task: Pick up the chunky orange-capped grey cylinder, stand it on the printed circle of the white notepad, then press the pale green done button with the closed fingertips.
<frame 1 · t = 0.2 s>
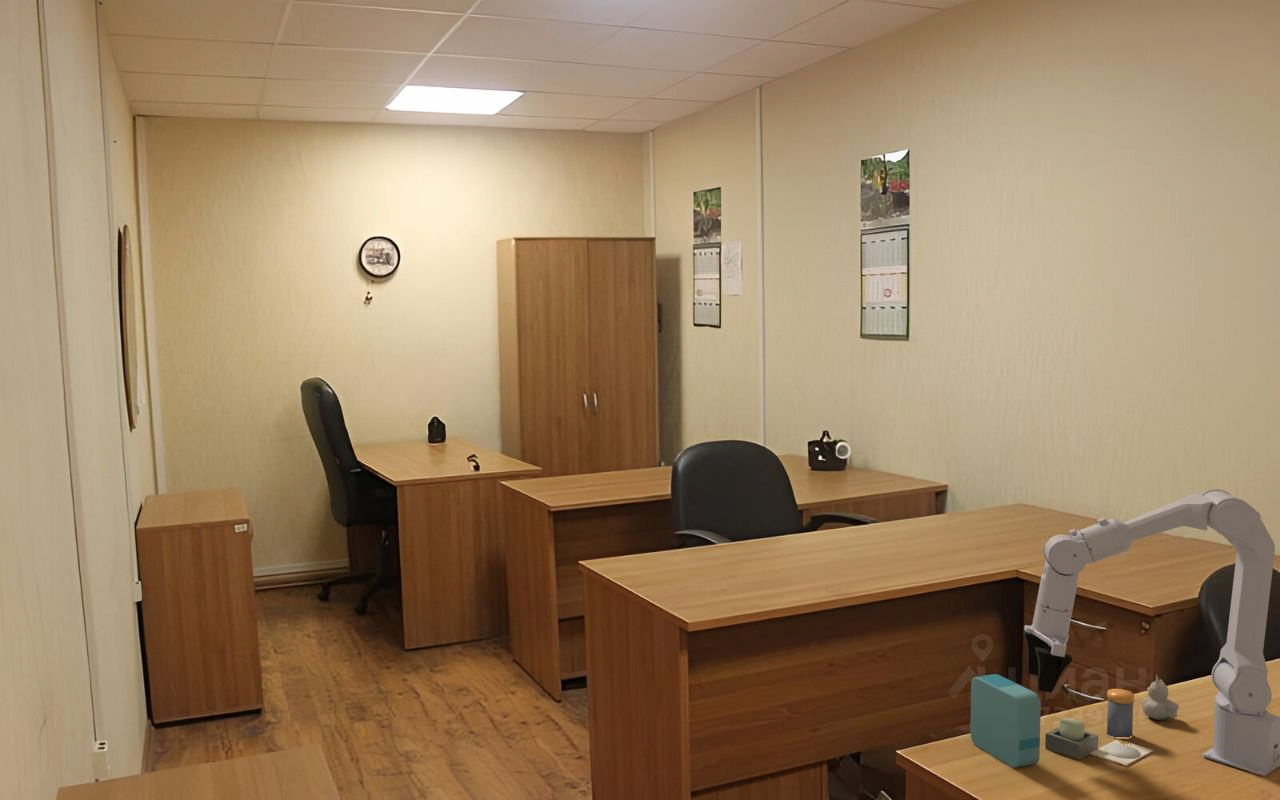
hand: (1039, 682, 174), 11 cm above the table, tool pointing down, fingers open, 7 cm apart
data package: (1003, 755, 170), on the table
orange-capped grey cylinder: (1119, 735, 177), on the table
done button: (1072, 731, 172), point 3 cm above the table, slide at 0.0 cm
button housing: (1071, 749, 172), on the table
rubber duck: (1160, 720, 184), on the table
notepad: (1121, 753, 170), on the table
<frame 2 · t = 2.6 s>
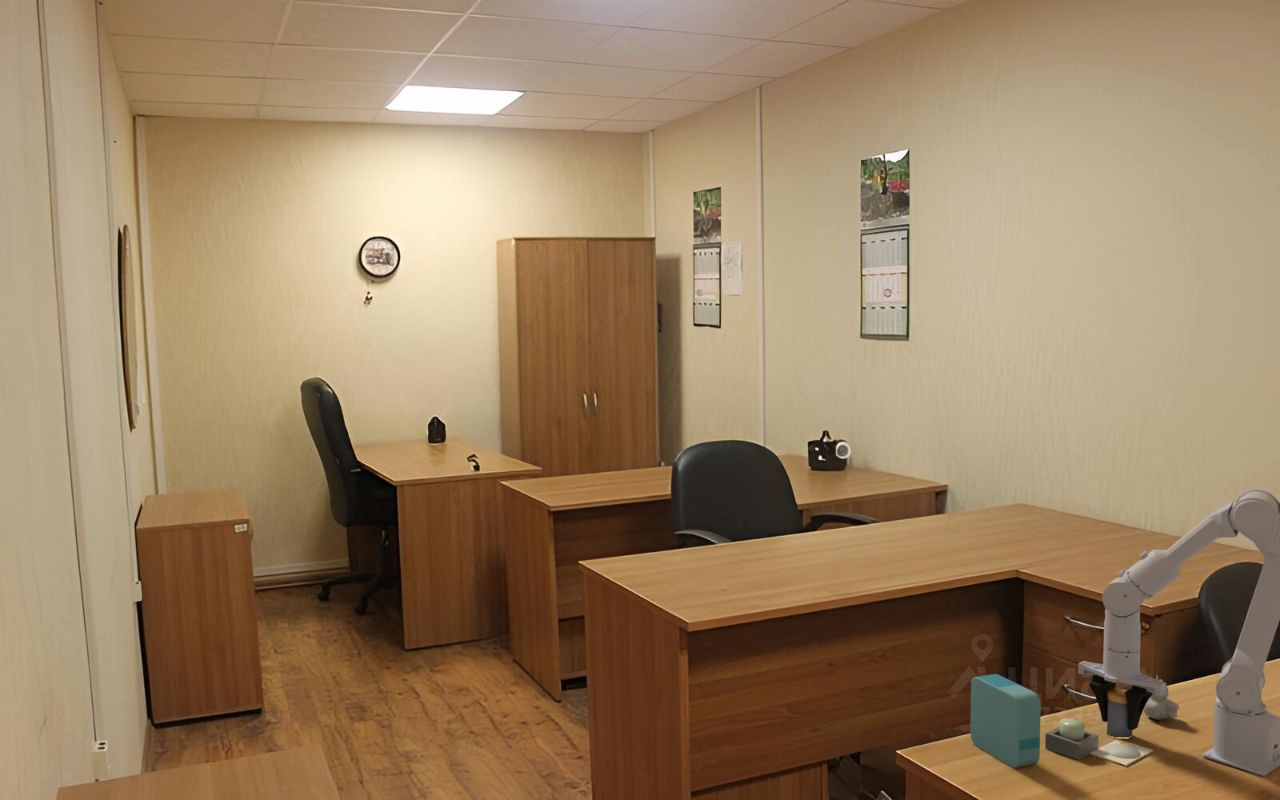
hand: (1119, 724, 177), 2 cm above the table, tool pointing down, fingers closed on orange-capped grey cylinder, 4 cm apart
orange-capped grey cylinder: (1119, 735, 177), on the table, touching gripper
everything else where it was.
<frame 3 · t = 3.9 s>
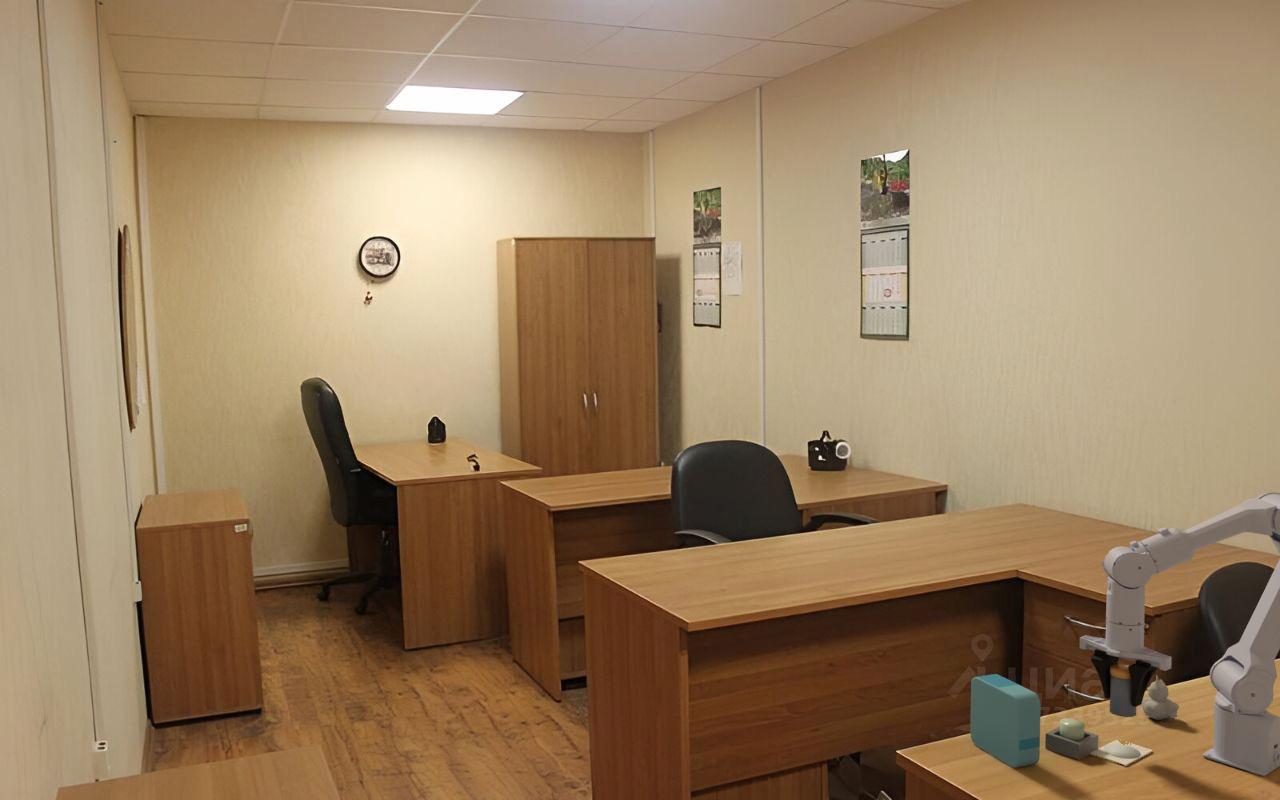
hand: (1122, 700, 170), 9 cm above the table, tool pointing down, fingers closed on orange-capped grey cylinder, 4 cm apart
orange-capped grey cylinder: (1122, 712, 170), point 7 cm above the table, touching gripper
everything else where it was.
when the fingers open (3 cm above the table, at t = 5.4 s): orange-capped grey cylinder stays where it is, resting on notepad.
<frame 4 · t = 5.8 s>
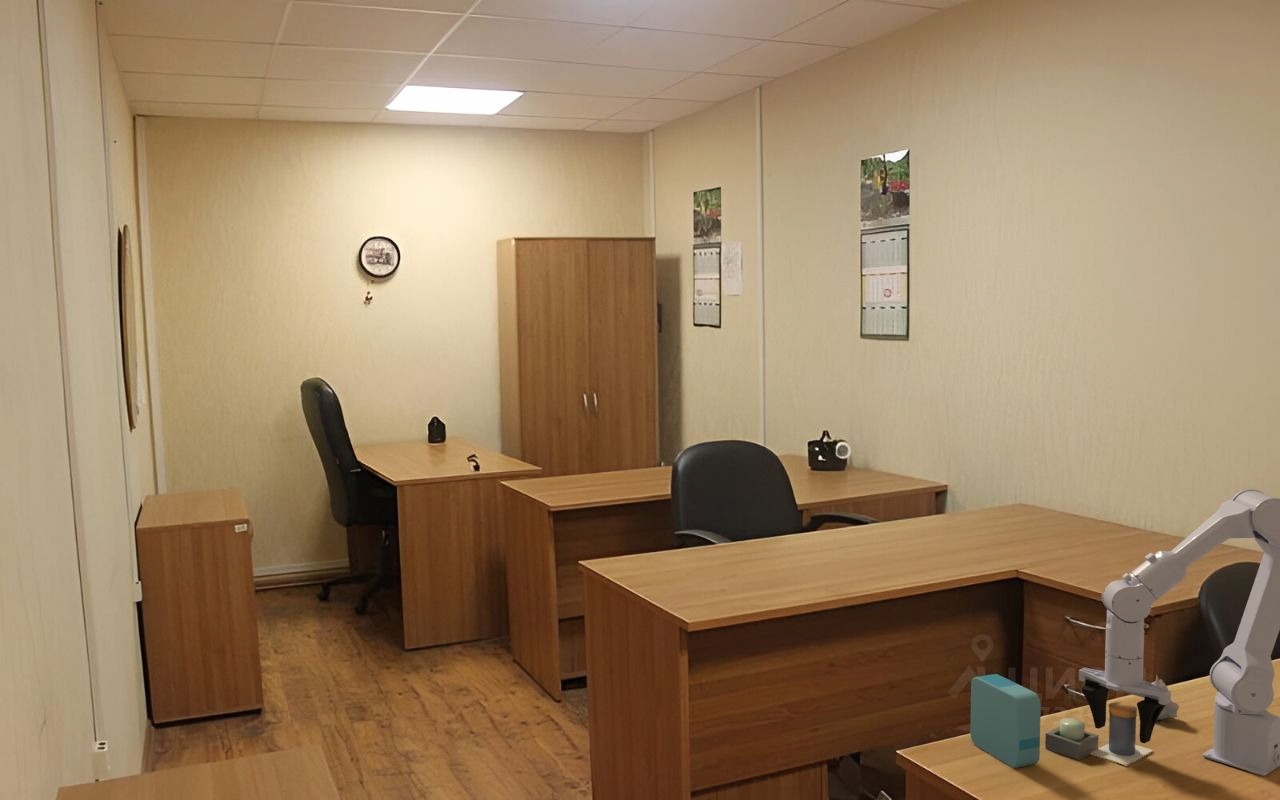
hand: (1122, 734, 170), 3 cm above the table, tool pointing down, fingers open, 7 cm apart
orange-capped grey cylinder: (1121, 750, 170), resting on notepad
everything else where it was.
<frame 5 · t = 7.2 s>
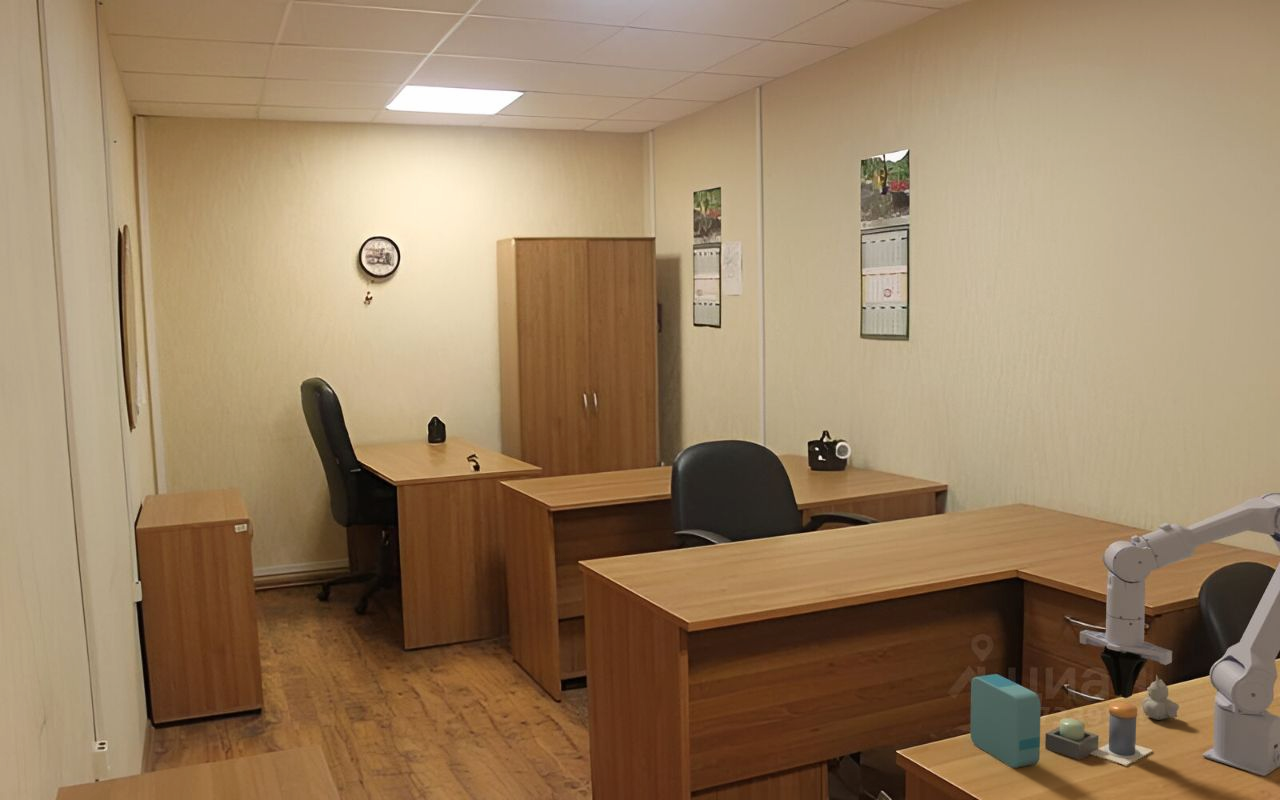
hand: (1123, 695, 169), 10 cm above the table, tool pointing down, fingers closed
nothing on the table moved.
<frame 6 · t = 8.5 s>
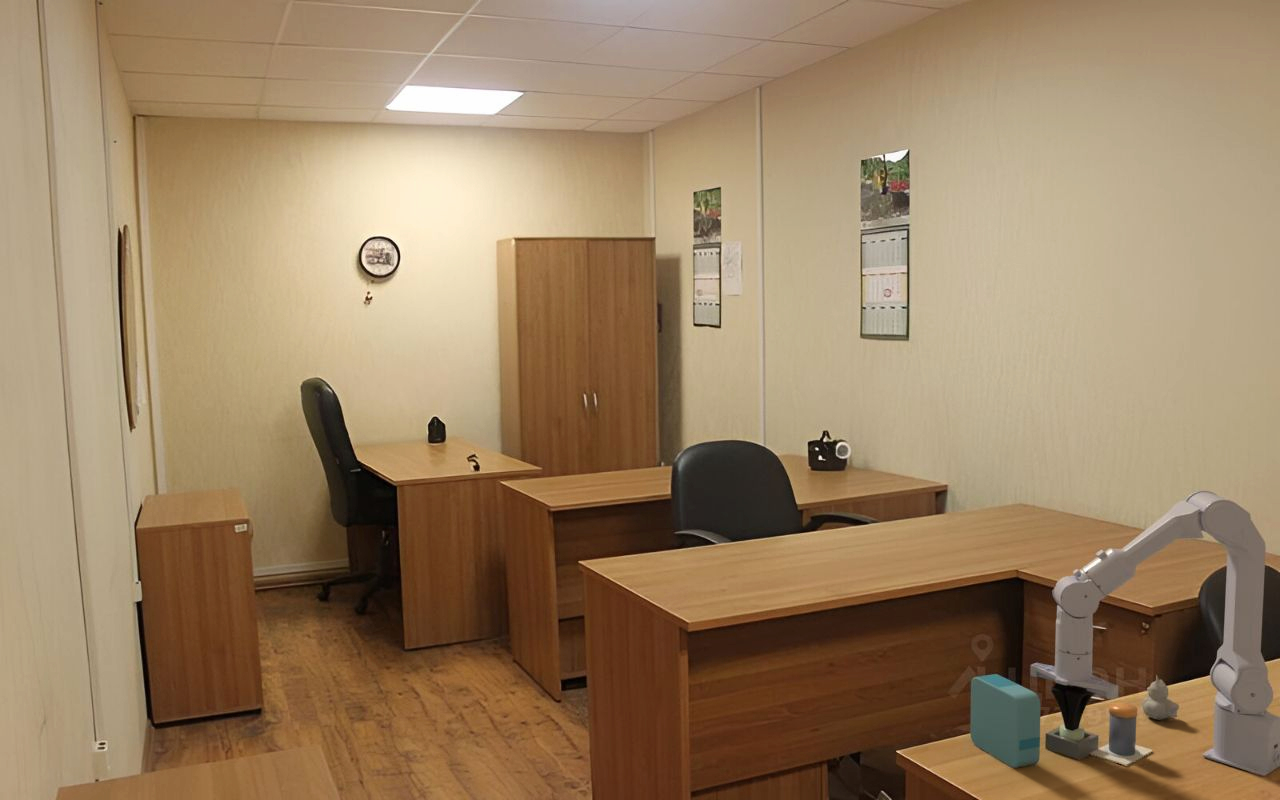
hand: (1071, 728, 172), 4 cm above the table, tool pointing down, fingers closed, pressing on done button
done button: (1071, 736, 172), point 2 cm above the table, slide at 0.9 cm, touching gripper
everything else where it was.
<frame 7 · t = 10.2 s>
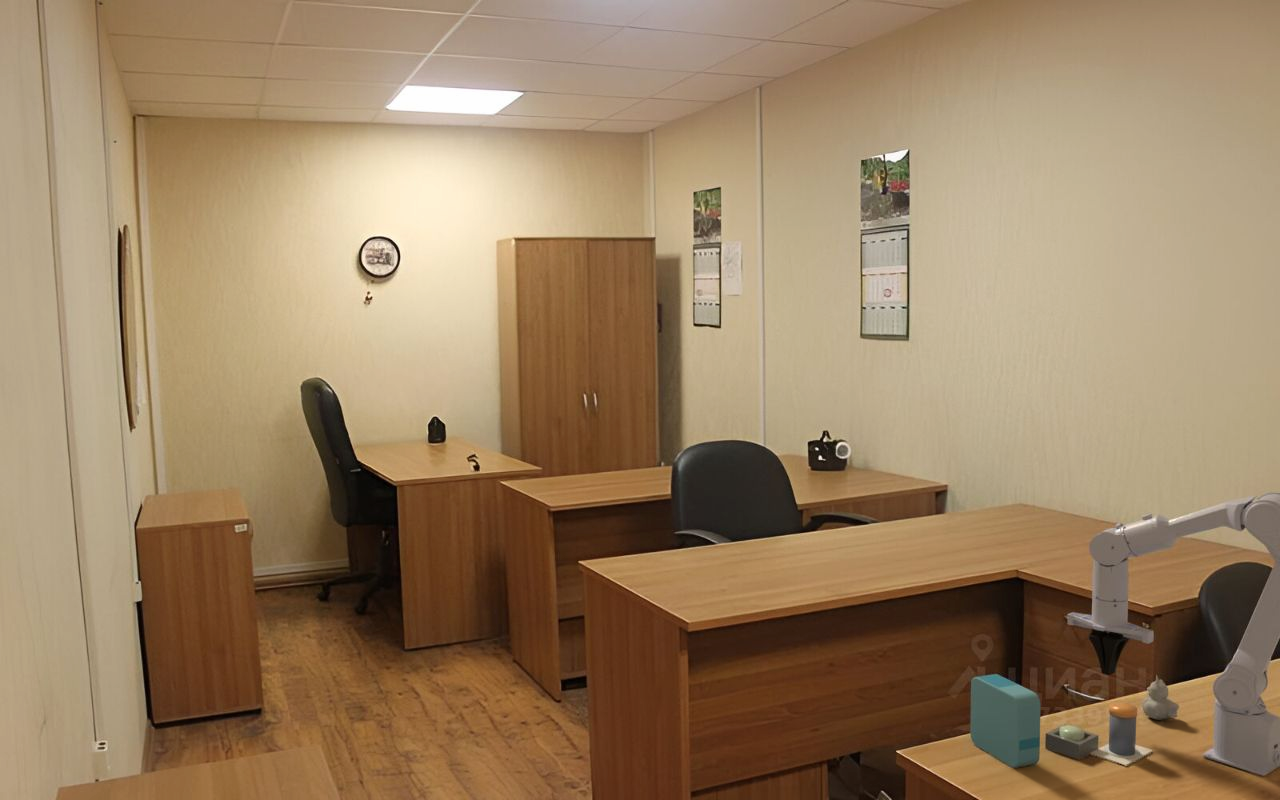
hand: (1108, 673, 180), 10 cm above the table, tool pointing down, fingers closed
done button: (1071, 738, 172), point 2 cm above the table, slide at 1.2 cm
everything else where it was.
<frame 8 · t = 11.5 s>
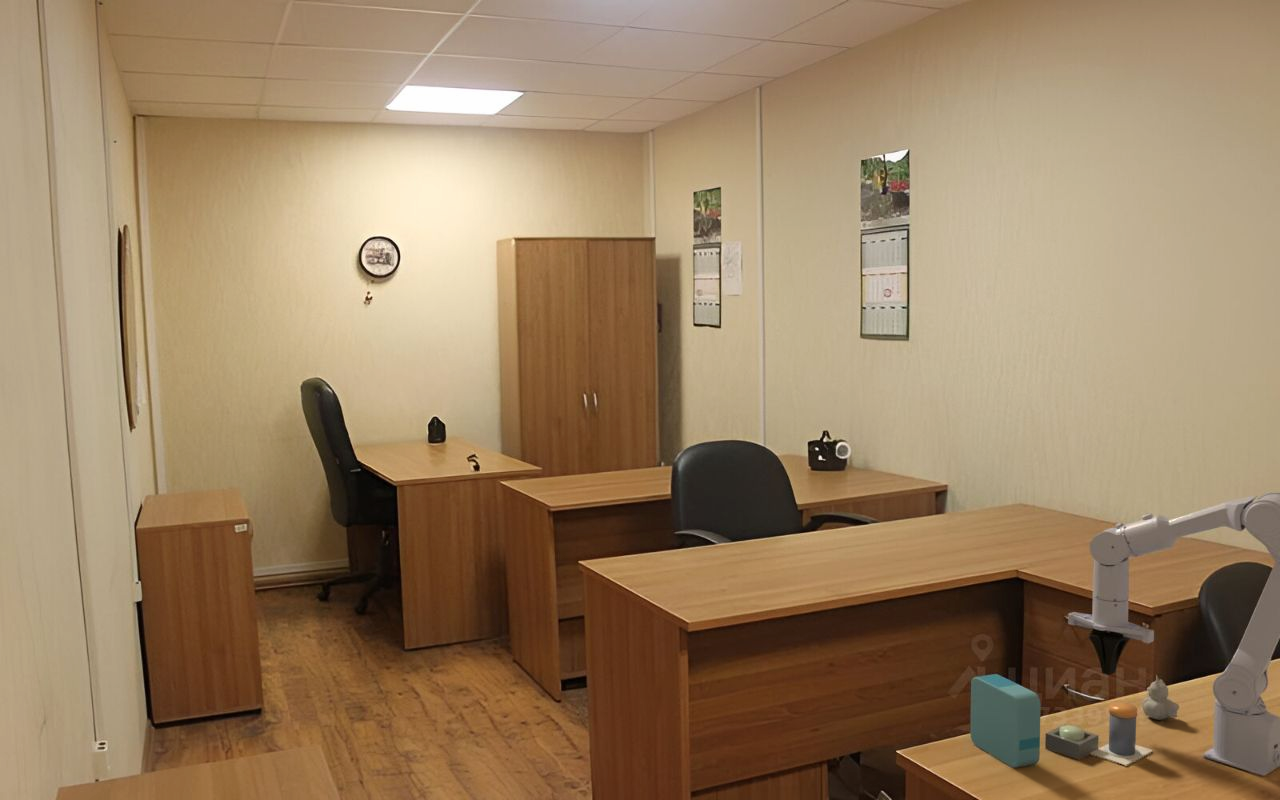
hand: (1108, 672, 180), 10 cm above the table, tool pointing down, fingers closed
nothing on the table moved.
at the end: orange-capped grey cylinder 0.1 cm off-centre on the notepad, point 0.4 cm above the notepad's base; orange-capped grey cylinder tilted 0°; done button slide at 1.2 cm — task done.
